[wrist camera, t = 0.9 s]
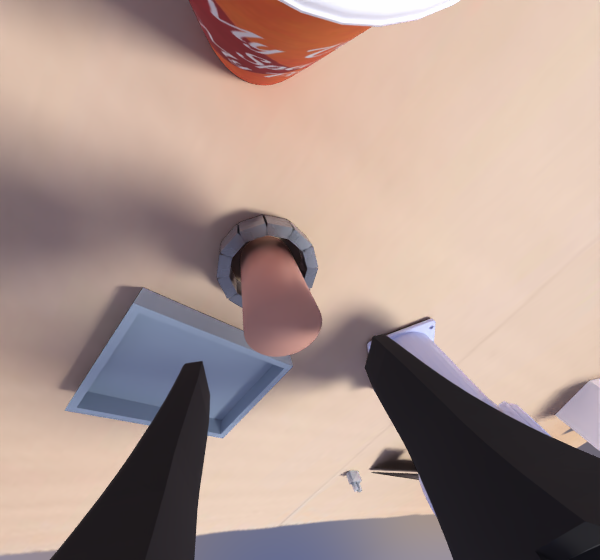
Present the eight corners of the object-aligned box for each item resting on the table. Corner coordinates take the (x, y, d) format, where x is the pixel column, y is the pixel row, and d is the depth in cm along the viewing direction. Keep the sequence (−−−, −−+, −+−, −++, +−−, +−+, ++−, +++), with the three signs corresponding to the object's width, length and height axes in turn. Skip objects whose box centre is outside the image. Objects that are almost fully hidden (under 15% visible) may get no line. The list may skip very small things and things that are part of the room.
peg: (296, 273, 20) (328, 340, 13) (250, 289, 20) (259, 366, 13) (283, 228, 18) (312, 283, 11) (231, 246, 18) (230, 312, 11)
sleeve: (317, 281, 21) (324, 294, 19) (240, 308, 21) (240, 324, 19) (297, 203, 17) (304, 210, 16) (202, 234, 17) (198, 245, 15)
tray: (288, 350, 24) (292, 366, 23) (223, 419, 28) (222, 438, 26) (142, 287, 18) (133, 303, 16) (78, 388, 21) (64, 410, 19)
